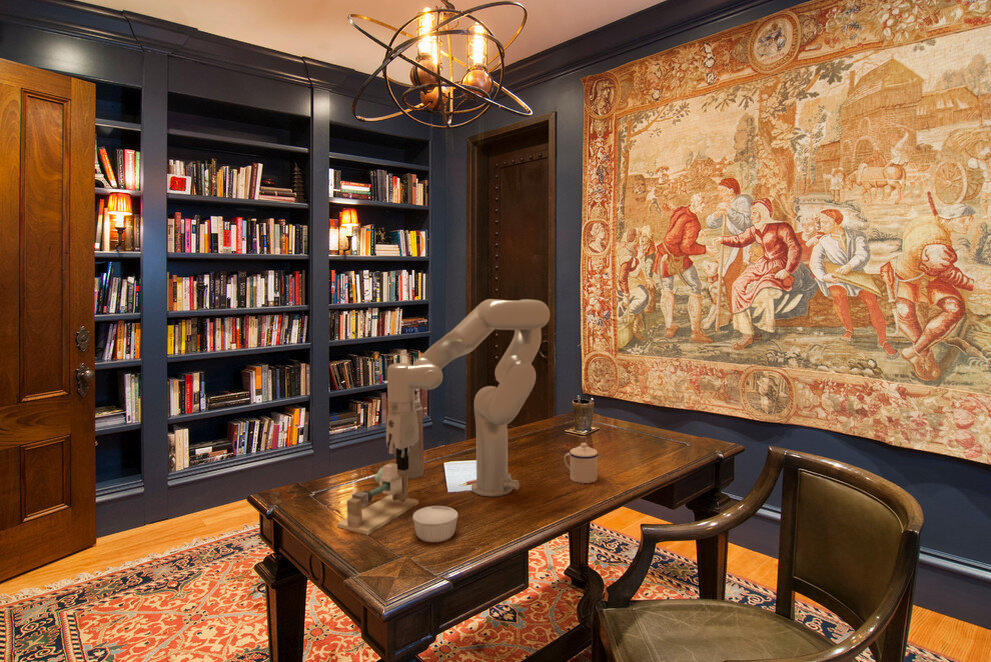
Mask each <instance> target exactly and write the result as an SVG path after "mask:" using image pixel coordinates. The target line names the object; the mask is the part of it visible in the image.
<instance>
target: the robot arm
mask: <svg viewBox="0 0 991 662" xmlns="http://www.w3.org/2000/svg"><path fill="white" fill-rule="evenodd" d="M550 316H551V313H550V309H549V307H548V306H547V304H546V303H545V302H543V301H541V300H538V299H526V298H525V299H519V300H507V299H497V298H496V299H493V298H488V299H485V300H484V301H482V302H480V303H478V305H477V306H475V308H474V309H472V311H471V312H469V313H468V315H466V316H465V317H464V318H463V319H462V320H461V321H460V323H458V324H457V325H456V326H455V327H454V328H453V329H452V330H451V331H449V332H448V333H446V334H444V336H442V338H440V339H439V340H437V341H436V342H435V343H433V344H432V345H431V346H430V347H429V348H427V350H426V351H424V352H423V353H422V354H421V355H420V356H419V357H418V358H417V359H416V361H414V362H413V364H410V363H408V362H407V363H406V362H404V363H403V362H400V363H399V362H398V363H391V364H390V365H388V366H387V370H386V371H387V372H386V375H387V417H386V429H385V430H386V431H385V442H386V443H385V444H386V447H387V448H389V449H388V454H391V455H394V457H395V461H396V462H395V464H397V471H399V470H403V471H405V470H407V469H409V456H408V455H409V454H410V449H411V447H412V446H413V445H414V444H415V443H417V442H418V440H419V428H418V418H417V413H416V409H415V395H414V390H416V389H418V390H433V389H435V388H437V387H438V388H439V386H440V385H441V384H442V381H443V379H444V375H443V371H442V370H443V368H445V366H447V365H448V364H449V363H450V362H452V361H453V360H455V359H457V358H459V357H463V356H465V355H467V354H469V353H471V352H473V351H474V350H475V349H476V348H477V347H479V345H480V344H481V343H482V342H483V341H484V340H485V339H486V338H488V336H489V335H490V334H491V333H492V332H494V331H495V330H502V331H504V330H507V331H514V334H513V337H512V340H511V341H510V344H509V345H508V347H507V349H506V351H504V354H503V355H502V357H501V358H500V360H499V362H498V364H497V365H496V367H495V371H494V376H495V379H496V381H497V382H498V383H499V384H498V385H497V387H496V386H493V385H488V386H484V387H482V388H480V389H479V390H478V391H477V393H476V394H475V397H474V401H473V407H474V408H473V411H474V412H473V413H474V419H475V431H476V432H475V433H476V436H475V437H476V439H475V442H476V443H475V444H476V445H475V447H476V448H475V449H476V451H475V452H476V453H475V454H476V458H475V459H476V460H475V461H476V465H475V466H476V481H474V482H473V483H472V484H471V491H472V492H473V493H474V494H476V495H479V496H483V497H500V496H505V495H508V494H509V493H511V492H512V491H513V490H519V488H520V483H519V480H517V479H512V474H510V473H509V472H508V469H509V467H508V460H509V459H508V455H509V454H508V449H509V448H508V443H509V442H508V438H509V435H508V434H509V433H508V424H510V423H511V422H512V421H513V420H514V419H515V418H516V417H517V415H518V414H519V412H520V410H521V409H522V407H523V406H524V405H525V402H526V400H527V399H528V398H529V395H530V394H531V392H532V390H533V388H534V387H535V384H536V379H537V373H536V368H535V367H534V366H533V364H532V363H533V361H534V359H535V357H536V356H537V353H538V352H539V349H540V347H541V343H542V328H543V327H545V326H546V325H547V324H548V322H549V320H550ZM399 449H400V450H399Z"/></svg>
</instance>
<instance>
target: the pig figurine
mask: <svg viewBox="0 0 991 662" xmlns="http://www.w3.org/2000/svg"><path fill="white" fill-rule="evenodd" d="M398 471H399V470H397V473H399V472H398ZM383 475H384V466H382V467H380V468H379V470H378V471H377V473H376V474H374V480H375V481H376V482H377V483H378V485H379V486H380V477H381V476H383Z"/></svg>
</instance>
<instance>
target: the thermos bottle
mask: <svg viewBox="0 0 991 662" xmlns="http://www.w3.org/2000/svg"><path fill="white" fill-rule="evenodd" d="M414 395H415V409H416V413H417V418H418V428H419V440H418V442H417V443H415V444H414V445H413V446H412V447H411V449H410V454H409V455H408V456H409V469H407V470H405V471H403V470H398V471H399V472H398V474H404V475H408V480H410V479H411V480H412V479H417V478H420V477H422V476H423V475H424V473H425V471H424V422H423V421H424V419H423V414H424V411H423V407H422V406H421V400H420V399H418V391H417V390H416V389H414ZM399 450H400V449H399Z"/></svg>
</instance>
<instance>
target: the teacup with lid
mask: <svg viewBox="0 0 991 662" xmlns="http://www.w3.org/2000/svg"><path fill="white" fill-rule="evenodd" d="M598 456H599V453H598V450H597V449H595V448H592V447H590V446H588V444H587V443H586V442H581V444H580V445H579V446H576V447H574V448H573V447H572V448H571V449H570V450H569V452H568V453H565V455H564V457H563V459H564V464H565V466H566V467H567V468H568V469H569V478H570V480H571V481H572V482H574V483H577V482H578V484H584V483H587V484H592V483H591V482H593V483H595V482H596V481H598ZM568 457H569V459H568Z"/></svg>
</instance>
